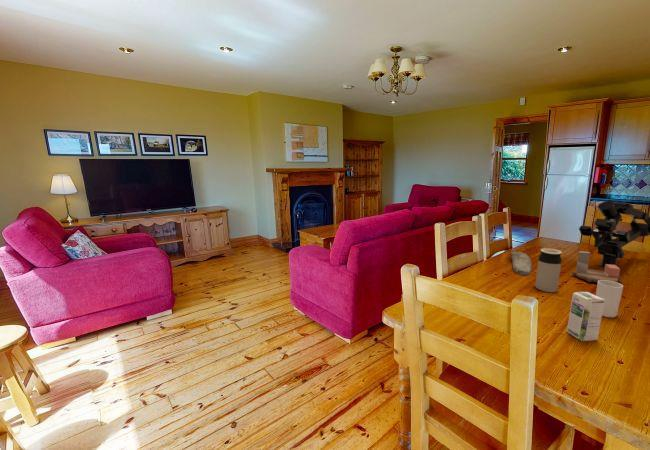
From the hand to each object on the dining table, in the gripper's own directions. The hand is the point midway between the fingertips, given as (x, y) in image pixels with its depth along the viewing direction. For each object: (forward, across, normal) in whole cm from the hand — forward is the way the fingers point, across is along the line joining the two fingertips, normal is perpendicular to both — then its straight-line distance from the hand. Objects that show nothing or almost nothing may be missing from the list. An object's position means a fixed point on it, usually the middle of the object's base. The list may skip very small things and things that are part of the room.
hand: (595, 246), depth 145 cm
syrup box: (+59, +27, -39) cm, 76 cm away
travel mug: (+38, +1, -19) cm, 43 cm away
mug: (+41, +23, -21) cm, 51 cm away
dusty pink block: (+11, +9, +5) cm, 15 cm away
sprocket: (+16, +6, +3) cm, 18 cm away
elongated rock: (+23, -24, -3) cm, 33 cm away
